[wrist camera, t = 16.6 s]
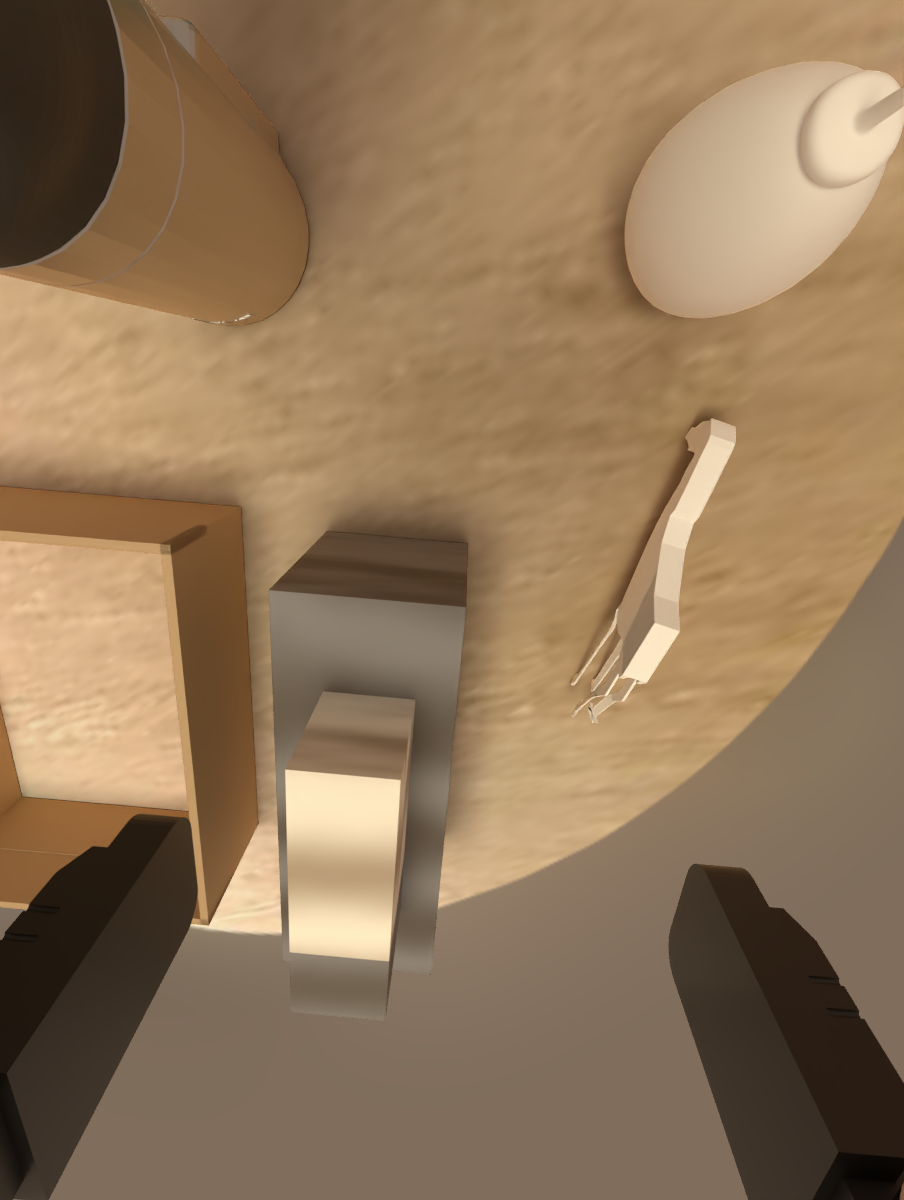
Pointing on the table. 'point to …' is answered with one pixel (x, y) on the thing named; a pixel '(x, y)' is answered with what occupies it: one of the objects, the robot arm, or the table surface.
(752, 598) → the table surface
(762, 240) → the sauce bottle
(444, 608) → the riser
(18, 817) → the carton
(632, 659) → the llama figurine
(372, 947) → the block
